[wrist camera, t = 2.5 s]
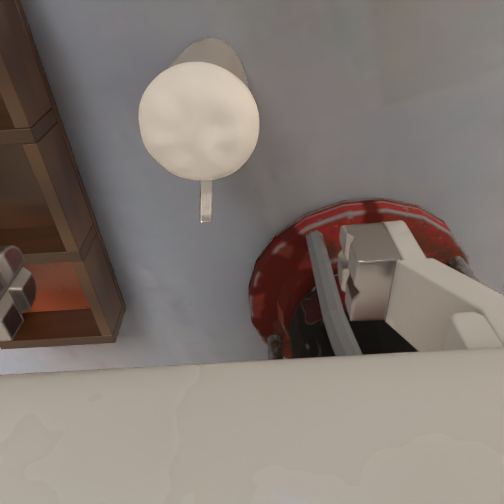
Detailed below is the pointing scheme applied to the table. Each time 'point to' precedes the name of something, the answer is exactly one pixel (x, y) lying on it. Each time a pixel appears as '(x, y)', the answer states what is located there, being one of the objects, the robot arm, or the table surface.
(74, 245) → the compartment tray
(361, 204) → the hourglass
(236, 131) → the milkshake
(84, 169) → the table surface
